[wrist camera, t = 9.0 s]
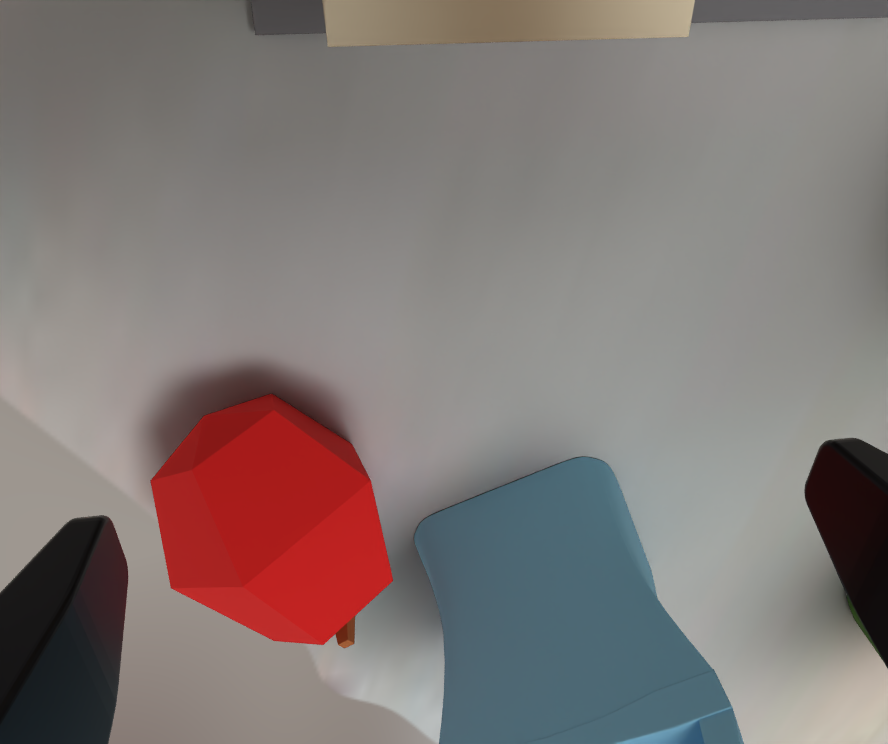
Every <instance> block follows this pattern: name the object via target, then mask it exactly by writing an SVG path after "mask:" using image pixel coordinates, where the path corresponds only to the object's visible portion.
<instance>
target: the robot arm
mask: <svg viewBox="0 0 888 744" xmlns="http://www.w3.org/2000/svg"><path fill="white" fill-rule="evenodd" d="M805 499H806V502H807V505H808V508H809V510H810V512H811V514H812V517H813V519H814V521H815V523H816V526H817V528H818V530H819V533H820V535H821V537H822V539H823V542H824V544H825V546H826V548H827V551H828V553H829V555H830V558H831V560H832V562H833V564H834V567H835V569H836V571H837V573H838V576H839V578H840V580H841V583H842V585H843V587H844V589H845V591H846V593H847V596H848V598H849V600H850V602H851V604H852V606H853V608H854V610H855V611H856V613H857V615H858V617H859V619H860V621H861V623H862V624H863V626H864V628H865V630H866V631H867V633H868V635H869V637H870V638H871V640H872V642H873V644H874V645H875V647H876V649H877V651H878V652H879V654H880V656H881V658H882V659H883V661H884V663H885V665H886V667H887V668H888V454H887V453H885V452H883V451H881V450H879V449H877V448H875V447H874V446H872V445H870V444H868V443H866V442H864V441H862V440H860V439H857V438H844V439H834V440H828V441H825V442H824V443H823V444H822V445H821V446H820V448H819V450H818V452H817V455H816V458H815V460H814V463H813V465H812V468H811V471H810V473H809V476H808V478H807V481H806V484H805ZM127 587H128V567H127V562H126V559H125V556H124V553H123V550H122V547H121V544H120V542H119V539H118V536H117V533H116V530H115V528H114V525H113V523H112V521H111V520H110V518H109V517H107V516H103V515H100V516H92V517H81V518H74V519H72V520H70V521H69V522H67V523H66V524H65V525H64V526H63V527H62V528H61V529H60V530H59V531H58V533H56V535H55V536H54V537H53V538H52V539H51V540H50V541H49V542H48V543H47V544H46V545H45V546H44V547H43V548H42V549H41V550H40V552H38V554H37V555H36V556H35V557H34V558H33V559H32V560H31V561H30V562H29V563H28V564H27V565H26V566H25V567H24V569H22V570H21V572H19V574H18V575H17V576H16V577H15V578H14V579H13V580H12V581H11V582H10V583H9V584H8V585H7V586H6V587H5V589H3V590H2V591H1V593H0V744H108V742H109V737H110V732H111V728H112V723H113V718H114V713H115V707H116V701H117V693H118V684H119V673H120V661H121V652H122V641H123V630H124V620H125V609H126V598H127Z"/></svg>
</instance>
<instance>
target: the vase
mask: <svg viewBox="0 0 888 744" xmlns="http://www.w3.org/2000/svg"><path fill="white" fill-rule="evenodd" d="M414 541H415V545H416V548H417V550H418V553H419V555H420V558H421V560H422V562H423V565H424V567H425V570H426V572H427V575H428V577H429V580H430V583H431V586H432V588H433V591H434V595H435V598H436V601H437V605H438V608H439V612H440V617H441V622H442V627H443V634H444V655H445V675H444V699H443V711H442V723H441V731H440V740H439V744H744V743H743V739H742V736H741V733H740V730H739V727H738V724H737V720H736V717H735V714H734V711H733V708H732V706H731V704H730V702H729V700H728V698H727V695H726V693H725V691H724V689H723V687H722V685H721V683H720V681H719V679H718V677H717V675H716V673H715V671H714V669H712V668H711V667H710V665H709V664H708V663H707V662H706V660H705V659H704V658H703V657H702V656H701V654H700V653H699V652H698V651H697V650H696V648H695V647H694V646H693V645H692V643H691V642H690V641H689V640H688V639H687V637H686V636H685V635H684V634H683V632H682V631H681V630H680V629H679V627H678V626H677V625H676V623H675V622H674V621H673V620H672V618H671V617H670V616H669V614H668V613H667V612H666V611H665V609H664V608H663V606H662V605H661V603H660V602H659V600H658V599H657V594H656V590H655V585H654V580H653V576H652V571H651V569H650V566H649V563H648V561H647V558H646V555H645V553H644V550H643V547H642V545H641V542H640V539H639V537H638V534H637V531H636V529H635V526H634V523H633V521H632V518H631V515H630V513H629V510H628V507H627V504H626V502H625V499H624V496H623V494H622V491H621V489H620V486H619V484H618V481H617V479H616V477H615V475H614V473H613V471H612V469H611V468H610V467H609V466H608V464H606V463H605V462H604V461H601V460H598V459H594V458H590V457H579V458H575V459H571V460H568V461H565V462H562V463H560V464H557V465H554V466H552V467H549V468H547V469H544V470H542V471H539V472H537V473H534V474H532V475H529V476H527V477H524V478H522V479H519V480H517V481H514V482H512V483H509V484H507V485H504V486H502V487H499V488H497V489H494V490H492V491H489V492H487V493H484V494H482V495H479V496H477V497H474V498H472V499H469V500H467V501H464V502H462V503H459V504H457V505H454V506H452V507H449V508H447V509H444V510H442V511H440V512H437V513H435V514H433V515H431V516H429V517H427V518H425V519H424V520H423V521H422V522H421V523H420V524H419V526H418V528H417V530H416V533H415V536H414Z"/></svg>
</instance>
